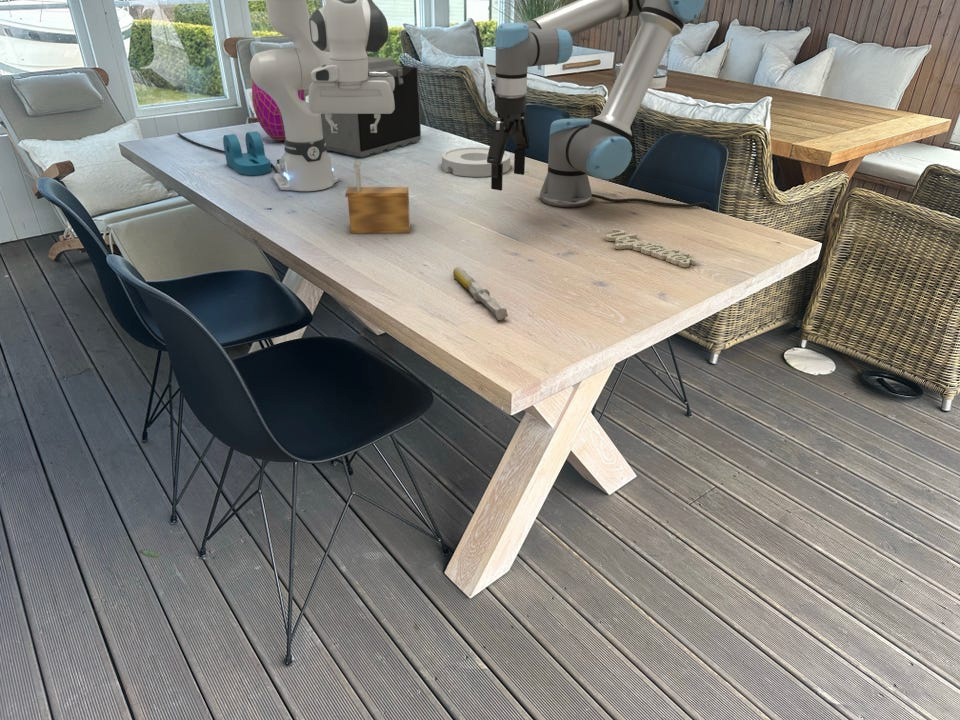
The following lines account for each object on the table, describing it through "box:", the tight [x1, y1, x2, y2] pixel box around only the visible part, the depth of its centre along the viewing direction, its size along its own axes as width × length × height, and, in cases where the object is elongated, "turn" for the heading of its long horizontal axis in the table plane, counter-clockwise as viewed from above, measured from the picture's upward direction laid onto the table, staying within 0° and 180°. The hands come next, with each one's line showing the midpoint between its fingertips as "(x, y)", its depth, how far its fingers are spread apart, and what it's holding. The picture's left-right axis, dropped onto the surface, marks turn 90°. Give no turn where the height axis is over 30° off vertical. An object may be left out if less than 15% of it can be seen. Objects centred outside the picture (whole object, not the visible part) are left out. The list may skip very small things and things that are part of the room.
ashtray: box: [441, 146, 511, 178], centre depth 232 cm, size 23×23×4 cm
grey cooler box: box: [321, 56, 422, 159], centre depth 250 cm, size 37×22×30 cm, turn 144°
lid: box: [345, 159, 409, 198], centre depth 173 cm, size 16×5×8 cm, turn 93°
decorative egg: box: [251, 78, 307, 142], centre depth 257 cm, size 19×19×30 cm
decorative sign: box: [605, 228, 696, 268], centre depth 169 cm, size 26×1×10 cm
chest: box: [347, 191, 411, 234], centre depth 178 cm, size 15×5×10 cm, turn 93°
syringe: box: [452, 266, 509, 321], centre depth 145 cm, size 25×4×3 cm, turn 21°
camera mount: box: [222, 131, 272, 176], centre depth 226 cm, size 18×10×10 cm, turn 35°
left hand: (354, 132), depth 167 cm, fingers open, 8 cm apart
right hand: (508, 181), depth 176 cm, fingers open, 13 cm apart
